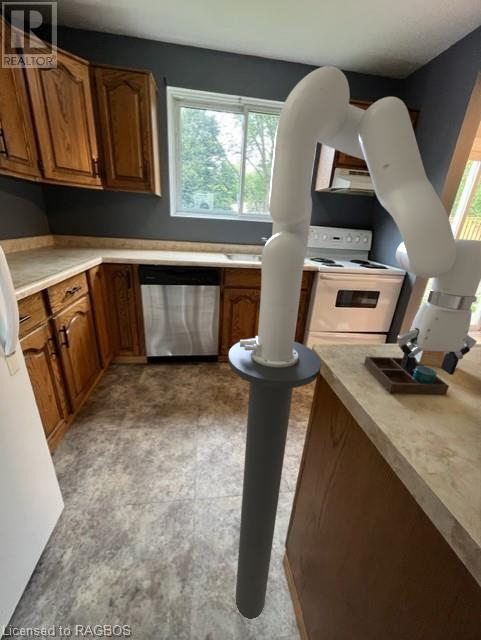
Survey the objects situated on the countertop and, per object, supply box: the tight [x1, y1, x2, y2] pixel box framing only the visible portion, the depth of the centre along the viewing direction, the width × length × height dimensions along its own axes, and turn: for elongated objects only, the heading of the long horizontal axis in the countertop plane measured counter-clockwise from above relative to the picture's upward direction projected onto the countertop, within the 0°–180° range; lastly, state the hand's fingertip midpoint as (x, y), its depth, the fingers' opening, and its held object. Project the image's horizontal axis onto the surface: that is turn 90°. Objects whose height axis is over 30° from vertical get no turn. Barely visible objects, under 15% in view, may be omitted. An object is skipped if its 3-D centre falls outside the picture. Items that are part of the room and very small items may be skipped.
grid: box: [363, 356, 450, 396], centre depth 67 cm, size 13×13×2 cm
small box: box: [414, 351, 449, 368], centre depth 74 cm, size 8×6×10 cm
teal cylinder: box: [413, 365, 438, 384], centre depth 64 cm, size 4×4×4 cm
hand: (426, 371), depth 63 cm, fingers open, 9 cm apart
